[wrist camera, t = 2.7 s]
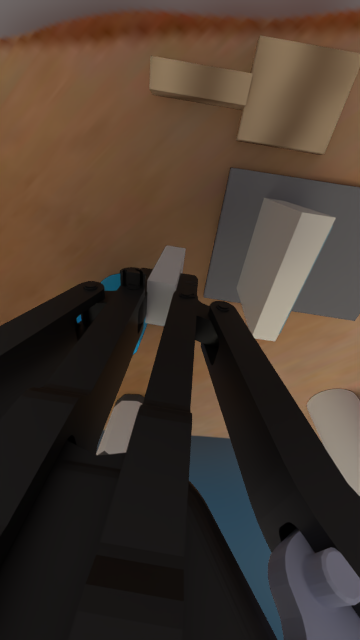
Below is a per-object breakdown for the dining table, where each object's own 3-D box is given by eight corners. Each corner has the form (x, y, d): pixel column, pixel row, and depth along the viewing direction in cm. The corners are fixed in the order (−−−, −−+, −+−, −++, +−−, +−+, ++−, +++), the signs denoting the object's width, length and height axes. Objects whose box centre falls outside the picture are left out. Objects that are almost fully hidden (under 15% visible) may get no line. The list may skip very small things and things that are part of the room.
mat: (203, 293, 29) (203, 297, 28) (230, 167, 21) (231, 167, 20) (349, 315, 29) (354, 320, 28) (429, 198, 21) (440, 200, 20)
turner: (151, 126, 20) (147, 122, 19) (156, 24, 17) (152, 11, 15) (319, 154, 20) (327, 153, 19) (357, 59, 17) (370, 50, 16)
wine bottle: (113, 411, 47) (14, 676, 22) (119, 388, 42) (2, 690, 18) (149, 420, 48) (92, 686, 23) (159, 399, 43) (100, 701, 19)
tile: (236, 288, 27) (251, 337, 19) (264, 197, 22) (302, 212, 13) (255, 291, 27) (279, 342, 19) (288, 201, 22) (341, 218, 13)
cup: (300, 397, 39) (350, 510, 26) (351, 382, 36) (436, 502, 23) (314, 420, 43) (364, 531, 30) (361, 409, 40) (441, 526, 26)
